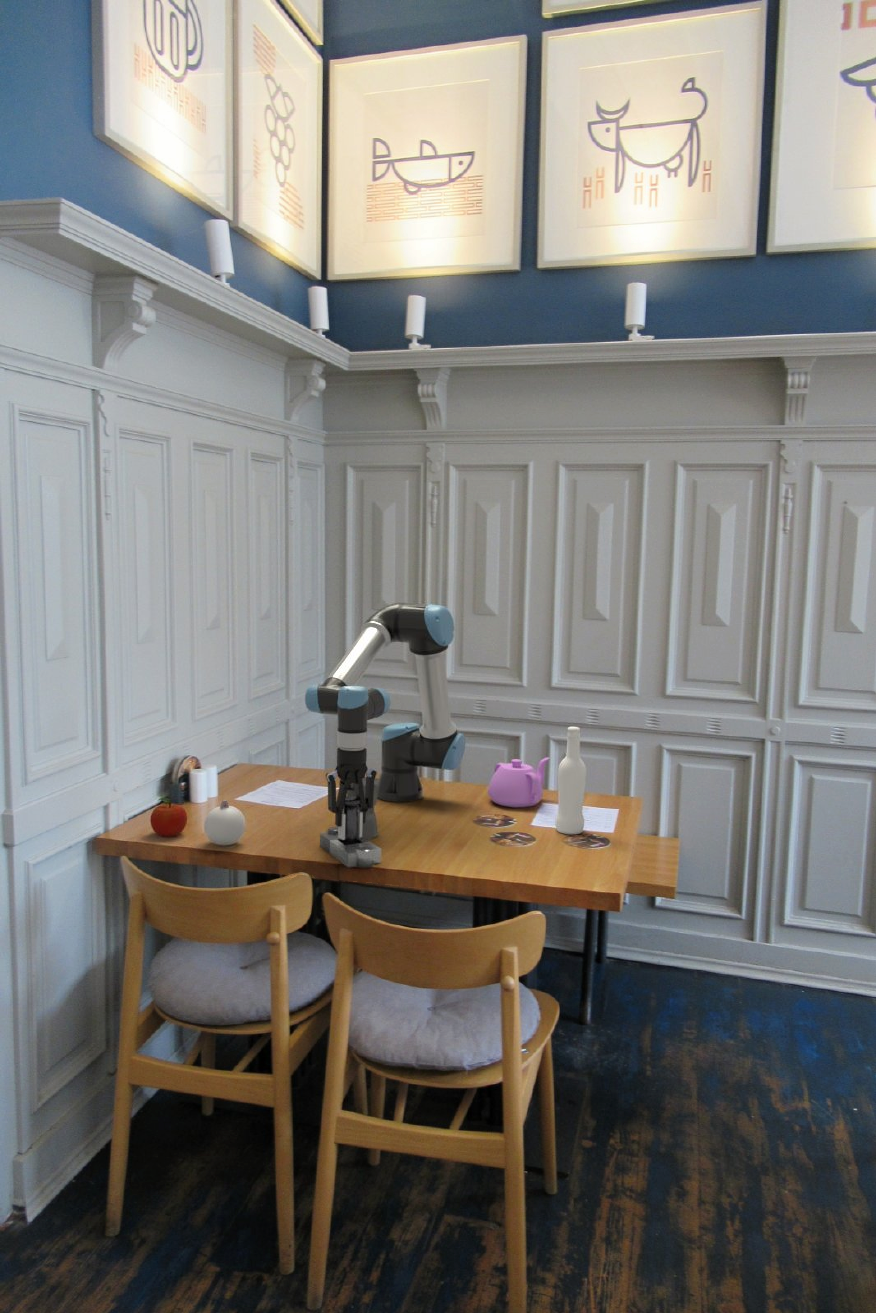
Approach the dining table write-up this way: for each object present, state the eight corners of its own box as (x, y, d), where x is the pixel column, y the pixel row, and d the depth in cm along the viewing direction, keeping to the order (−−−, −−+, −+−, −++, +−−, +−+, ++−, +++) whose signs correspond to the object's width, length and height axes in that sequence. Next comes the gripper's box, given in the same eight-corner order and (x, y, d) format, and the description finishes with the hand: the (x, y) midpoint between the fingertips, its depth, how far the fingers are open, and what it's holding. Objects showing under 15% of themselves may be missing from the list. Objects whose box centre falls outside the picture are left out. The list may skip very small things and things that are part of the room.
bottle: (586, 828, 273) (591, 726, 270) (580, 836, 266) (586, 730, 262) (558, 825, 276) (562, 723, 272) (552, 832, 268) (557, 728, 265)
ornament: (225, 853, 242) (225, 807, 241) (196, 845, 248) (196, 800, 246) (253, 843, 251) (253, 798, 249) (224, 836, 256) (224, 792, 255)
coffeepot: (363, 826, 269) (364, 763, 267) (389, 832, 264) (391, 769, 262) (327, 838, 256) (328, 773, 254) (353, 846, 251) (355, 779, 249)
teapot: (569, 805, 297) (571, 762, 296) (515, 815, 285) (517, 770, 284) (525, 790, 315) (526, 749, 314) (472, 798, 303) (473, 755, 302)
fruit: (173, 842, 250) (173, 804, 249) (143, 837, 253) (142, 800, 252) (194, 832, 259) (194, 796, 258) (165, 827, 262) (165, 792, 261)
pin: (363, 853, 243) (364, 800, 242) (345, 856, 241) (345, 803, 239) (355, 847, 248) (355, 795, 246) (336, 850, 245) (337, 797, 244)
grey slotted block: (347, 839, 256) (348, 825, 256) (384, 865, 237) (385, 849, 236) (316, 844, 252) (316, 829, 251) (351, 870, 232) (352, 854, 232)
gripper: (375, 742, 249) (373, 828, 251) (314, 747, 240) (313, 837, 243) (388, 747, 242) (386, 836, 245) (326, 753, 234) (324, 845, 236)
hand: (350, 836), depth 244 cm, fingers open, 4 cm apart
